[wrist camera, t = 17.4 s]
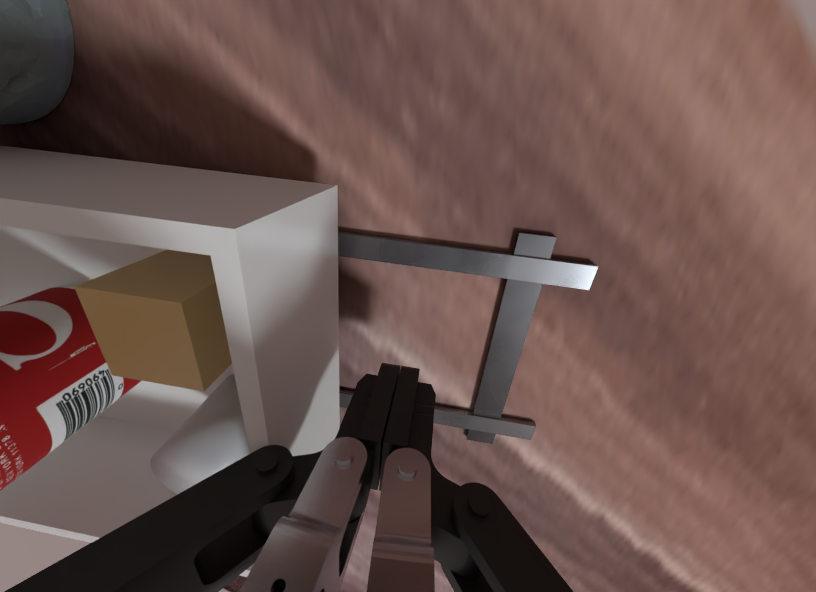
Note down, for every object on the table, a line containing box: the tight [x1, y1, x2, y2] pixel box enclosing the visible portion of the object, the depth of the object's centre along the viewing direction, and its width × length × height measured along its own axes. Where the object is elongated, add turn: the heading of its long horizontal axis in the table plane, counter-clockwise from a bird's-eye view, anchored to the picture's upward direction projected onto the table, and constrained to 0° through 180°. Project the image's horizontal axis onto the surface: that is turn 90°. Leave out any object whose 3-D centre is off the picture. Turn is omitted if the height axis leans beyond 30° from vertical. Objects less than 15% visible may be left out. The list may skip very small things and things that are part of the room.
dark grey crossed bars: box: [338, 231, 598, 444], centre depth 16 cm, size 12×25×1 cm, turn 85°
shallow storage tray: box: [0, 146, 340, 577], centre depth 13 cm, size 14×18×7 cm
